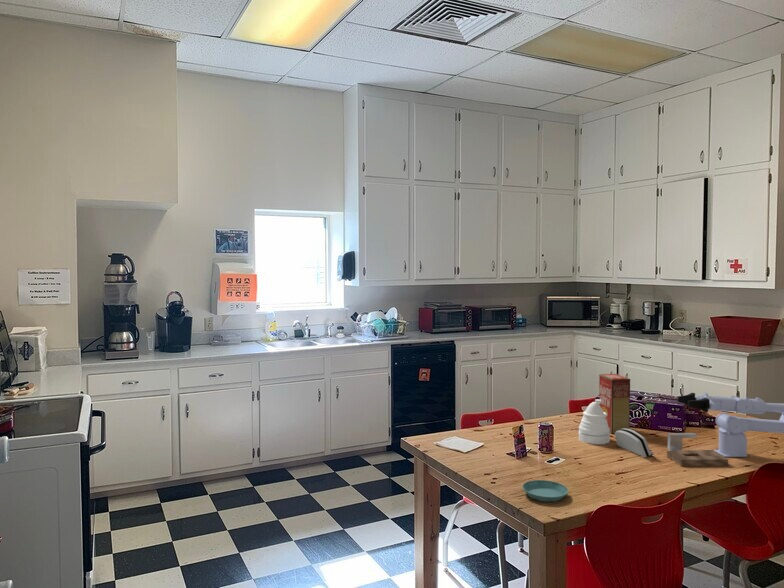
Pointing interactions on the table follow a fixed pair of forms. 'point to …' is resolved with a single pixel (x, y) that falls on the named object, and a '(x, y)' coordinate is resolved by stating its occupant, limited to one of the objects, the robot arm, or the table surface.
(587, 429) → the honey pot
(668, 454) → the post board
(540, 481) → the saucer
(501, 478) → the table surface
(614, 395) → the food packaging
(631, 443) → the napkin holder
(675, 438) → the bracket
